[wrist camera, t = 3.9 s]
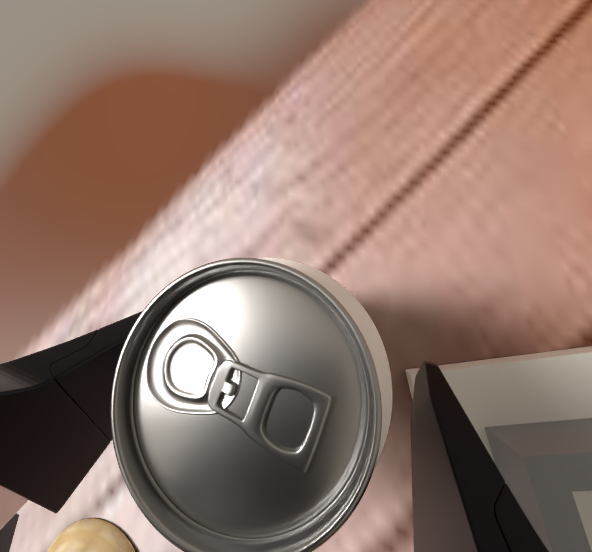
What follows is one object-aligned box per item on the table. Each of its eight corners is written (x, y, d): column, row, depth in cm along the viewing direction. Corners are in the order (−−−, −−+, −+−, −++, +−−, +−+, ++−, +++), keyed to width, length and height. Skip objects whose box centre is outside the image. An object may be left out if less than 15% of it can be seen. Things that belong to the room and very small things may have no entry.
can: (287, 282, 18) (166, 204, 6) (382, 317, 16) (459, 297, 5) (252, 374, 17) (45, 478, 6) (347, 420, 15) (332, 704, 4)
